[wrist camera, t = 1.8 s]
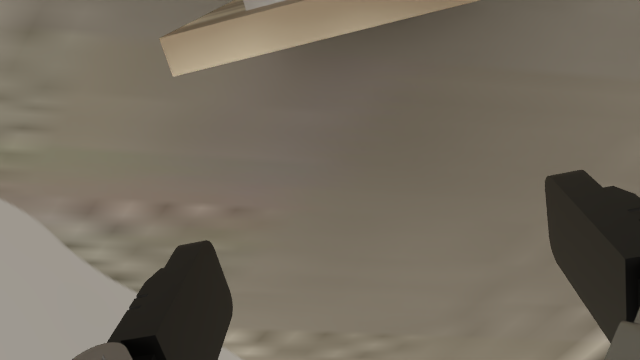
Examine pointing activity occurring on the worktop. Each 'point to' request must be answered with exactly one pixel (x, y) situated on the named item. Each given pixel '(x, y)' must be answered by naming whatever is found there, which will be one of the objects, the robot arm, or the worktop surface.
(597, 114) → the worktop surface
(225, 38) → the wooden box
